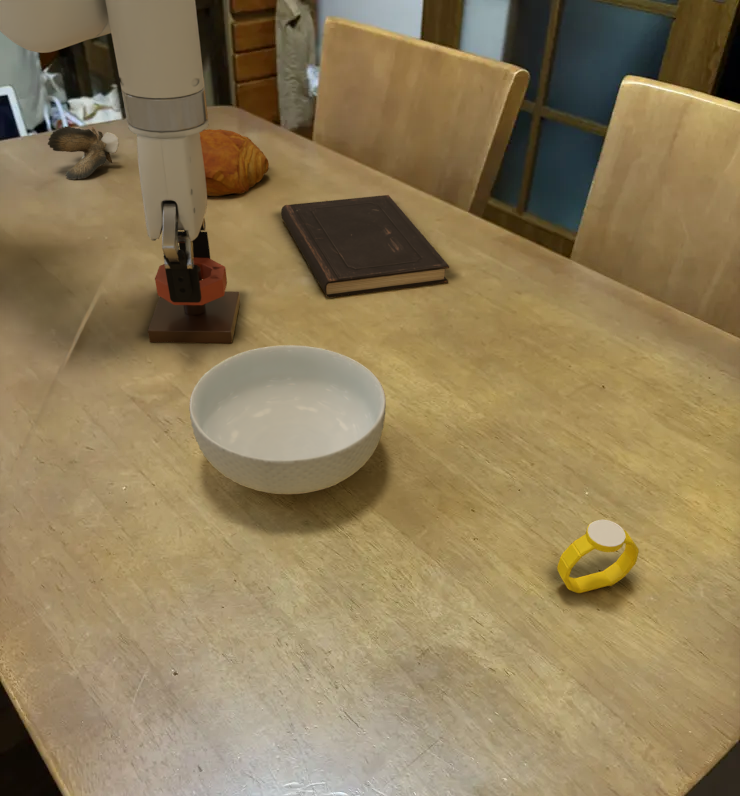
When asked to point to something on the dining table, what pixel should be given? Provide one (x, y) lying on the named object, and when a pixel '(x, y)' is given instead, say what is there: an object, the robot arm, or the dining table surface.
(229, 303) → the stand
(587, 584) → the watch
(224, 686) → the dining table surface
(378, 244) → the hardcover book
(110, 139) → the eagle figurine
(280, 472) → the cereal bowl
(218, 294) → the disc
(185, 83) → the robot arm
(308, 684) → the dining table surface
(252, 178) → the croissant
